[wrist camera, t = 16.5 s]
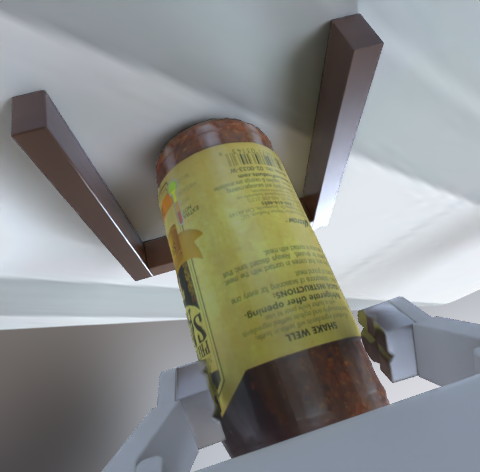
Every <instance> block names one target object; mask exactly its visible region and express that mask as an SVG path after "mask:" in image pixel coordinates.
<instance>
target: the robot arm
mask: <svg viewBox="0 0 480 472" xmlns="http://www.w3.org/2000/svg"><path fill="white" fill-rule="evenodd" d="M358 321H359V323H360V324H361V325H362V326H363V327H364V328H363V330H362V332H361V338H362V342H363V345H364V348H365V350H366V352H367V353H368V355H369V357H370V358H371V359H372V360H373V361H374V362H377V363H380V369H381V371H382V372H383V373H384V374H385V375H386V376H387V377H388V378H389V380H390V381H391V382H392V383H394V382H398V381H401V380H405V379H408V378H411V377H414V376H417V375H419V377H421V378H423V379H426V380H428V381H430V382H432V383H435V384H437V385H439V386H442V387H439V388H436V389H433V390H430V391H427V392H424V393H421V394H419V395H416V396H413V397H410V398H407V399H404V400H401V401H398V402H395V403H392V404H390V405H387V406H384V407H381V408H378V409H375V410H372V411H369V412H366V413H363V414H360V415H358V416H355V417H352V418H349V419H346V420H343V421H340V422H337V423H334V424H331V425H328V426H326V427H323V428H320V429H317V430H314V431H311V432H308V433H305V434H302V435H299V436H296V437H294V438H291V439H288V440H285V441H282V442H279V443H276V444H273V445H270V446H267V447H264V448H262V449H259V450H256V451H253V452H250V453H247V454H244V455H241V456H238V457H235V458H232V459H230V460H227V461H224V462H221V463H218V464H215V465H212V466H209V467H206V468H203V469H200V470H198V471H195V472H480V324H476V323H470V322H465V321H459V320H454V319H448V318H443V317H438V316H436V317H433V318H432V317H431V316H429V315H428V314H426V313H425V312H424V311H422V310H421V309H419V308H418V307H416V306H415V305H413V304H412V303H411V302H409V301H408V300H406V299H405V298H403V297H396V298H394V299H391V300H388V301H386V302H383V303H380V304H377V305H374V306H371V307H368V308H365V309H362V310H359V311H358ZM221 412H222V410H221V404H220V400H219V395H218V392H217V388H216V385H215V382H214V381H213V380H212V376H211V369H210V366H209V364H208V361H207V359H203V360H200V361H196V362H193V363H189V364H186V365H183V366H179V367H177V368H172V369H170V370H166V371H163V372H161V373H160V376H159V388H158V399H157V407H155V408H153V409H152V410H151V411H150V412H149V413H148V415H147V416H146V417H145V418H144V420H143V421H142V422H141V423H140V425H139V426H138V427H137V428H136V430H135V431H134V432H133V433H132V434H131V436H130V437H129V438H128V439H127V441H126V442H125V443H124V444H123V446H122V447H121V448H120V449H119V451H118V452H117V453H116V454H115V456H114V457H113V458H112V459H111V460H110V462H109V463H108V464H107V466H106V467H105V468H104V469H103V470H102V472H190V470H191V467H192V465H193V463H194V461H195V459H196V456H197V454H198V450H199V449H202V448H204V447H207V446H210V445H213V444H215V443H218V442H220V441H223V440H226V437H225V430H224V423H223V420H222V416H221Z"/></svg>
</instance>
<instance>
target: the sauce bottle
mask: <svg viewBox="0 0 480 472" xmlns="http://www.w3.org/2000/svg"><path fill="white" fill-rule="evenodd" d="M156 179H157V183H158V189H159V191H158V202H159V206H160V210H161V214H162V218H163V222H164V226H165V230H166V234H167V238H168V242H169V246H170V250H171V254H172V258H173V262H174V266H175V270H176V274H177V279H178V284H179V288H180V291H181V294H182V298H183V303H184V306H185V309H186V315H187V319H188V324H189V328H190V331H191V336H192V340H193V343H194V347H195V350H196V353H197V357H198V361H200V360H203V359H207V361H208V364H209V366H210V369H211V376H212V380H213V381H214V382H215V385H216V388H217V392H218V395H219V400H220V404H221V410H222V412H221V416H222V420H223V423H224V430H225V437H226V440H223V441H221V442H222V443H223V445H224V447H225V448H226V450H227V452H228V453H229V455H230V457H231V459H232V458H235V457H238V456H241V455H244V454H247V453H250V452H253V451H256V450H259V449H262V448H264V447H267V446H270V445H273V444H276V443H279V442H282V441H285V440H288V439H291V438H294V437H296V436H299V435H302V434H305V433H308V432H311V431H314V430H317V429H320V428H323V427H326V426H328V425H331V424H334V423H337V422H340V421H343V420H346V419H349V418H352V417H355V416H358V415H360V414H363V413H366V412H369V411H372V410H375V409H378V408H381V407H384V406H387V405H390V404H389V401H388V399H387V396H386V391H385V389H384V387H383V386H382V384H381V383H380V381H379V379H378V377H377V375H376V373H375V371H374V369H373V367H372V363H371V361H370V360H369V357H368V355H367V353H366V350H365V349H364V347H363V345H362V343H361V333H360V331H359V328H358V326H357V324H356V322H355V319H354V317H353V315H352V313H351V310H350V308H349V306H348V304H347V302H346V300H345V297H344V295H343V293H342V291H341V289H340V287H339V285H338V283H337V280H336V278H335V276H334V274H333V272H332V270H331V267H330V265H329V263H328V261H327V259H326V257H325V255H324V252H323V250H322V248H321V246H320V244H319V242H318V239H317V237H316V235H315V233H314V231H313V229H312V227H311V225H310V222H309V220H308V218H307V216H306V214H305V212H304V209H303V207H302V205H301V203H300V201H299V199H298V197H297V194H296V192H295V190H294V188H293V186H292V184H291V182H290V180H289V177H288V175H287V173H286V171H285V169H284V167H283V164H282V162H281V161H280V159H279V157H278V155H277V154H276V153H275V152H274V151H273V149H272V146H271V142H270V141H269V139H268V138H267V136H266V135H265V134H264V133H263V132H262V131H261V130H260V129H259V128H258V127H256V126H254V125H252V124H249V123H245V122H243V121H241V120H238V119H228V118H225V119H210V120H207V121H205V122H202V123H199V124H195V125H193V126H192V127H190V128H188V129H187V130H185V131H182V132H181V133H180V134H178V135H177V136H175V137H174V138H172V139H171V140H170V141H169V142H168V143H167V144H166V146H165V147H164V149H163V150H162V151H161V154H160V156H159V158H158V160H157V165H156Z"/></svg>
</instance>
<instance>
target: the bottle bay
mask: <svg viewBox="0 0 480 472" xmlns="http://www.w3.org/2000/svg"><path fill="white" fill-rule="evenodd" d="M383 44H384V43H383V41H382V40H381V39H380V38H379V36H378V35H377V34H376V33H375V31H374V30H373V29H372V28H371V26H370V25H369V24H368V23H367V22H366V20H365V19H364V18H363V17H362V15H361V14H355V15H351V16H347V17H343V18H339V19H335V20H332V22H331V28H330V34H329V40H328V46H327V52H326V58H325V64H324V70H323V76H322V82H321V88H320V94H319V100H318V106H317V112H316V118H315V125H314V131H313V137H312V143H311V149H310V155H309V161H308V167H307V173H306V179H305V185H304V191H303V197H302V198H299V201H300V203H301V205H302V207H303V209H304V212H305V214H306V216H307V218H308V220H309V222H310V225H311V227H312V229H316V228H319V227H323V226H326V225H328V222H329V219H330V215H331V212H332V209H333V206H334V202H335V199H336V196H337V193H338V189H339V186H340V183H341V180H342V177H343V173H344V170H345V167H346V164H347V160H348V157H349V154H350V151H351V148H352V144H353V141H354V138H355V135H356V131H357V128H358V125H359V122H360V118H361V115H362V112H363V109H364V106H365V102H366V99H367V96H368V93H369V89H370V86H371V83H372V80H373V76H374V73H375V70H376V67H377V64H378V60H379V57H380V54H381V51H382V47H383ZM11 136H12V138H13V139H14V140H15V141H16V142H17V144H18V145H19V146H20V147H21V148H22V149H23V151H24V152H25V153H26V154H27V155H28V156H29V158H30V159H31V160H32V161H33V162H34V163H35V165H36V166H37V167H38V168H39V169H40V170H41V172H42V173H43V174H44V175H45V176H46V177H47V179H48V180H49V181H50V182H51V183H52V184H53V186H54V187H55V188H56V189H57V190H58V191H59V193H60V194H61V195H62V196H63V197H64V198H65V200H66V201H67V202H68V203H69V204H70V205H71V207H72V208H73V209H74V210H75V211H76V212H77V214H78V215H79V216H80V217H81V218H82V219H83V221H84V222H85V223H86V224H87V225H88V226H89V228H90V229H91V230H92V231H93V232H94V233H95V235H96V236H97V237H98V238H99V239H100V240H101V242H102V243H103V244H104V245H105V246H106V247H107V249H108V250H109V251H110V252H111V253H112V254H113V256H114V257H115V258H116V259H117V260H118V261H119V263H120V264H121V265H122V266H123V267H124V268H125V270H126V271H127V272H128V273H129V274H130V275H131V277H132V278H133V279H134V280H135V281H138V280H141V279H145V278H148V277H152V276H155V275H159V274H162V273H166V272H169V271H172V270H175V266H174V262H173V258H172V254H171V250H170V246H169V242H168V238H167V236H165V237H162V238H158V239H155V240H151V241H148V242H144V244H143V242H142V241H141V239H140V238H139V236H138V234H137V233H136V231H135V230H134V228H133V227H132V225H131V224H130V222H129V220H128V219H127V217H126V216H125V214H124V213H123V211H122V210H121V208H120V206H119V205H118V203H117V202H116V200H115V199H114V197H113V196H112V194H111V192H110V191H109V189H108V188H107V186H106V185H105V183H104V182H103V180H102V178H101V177H100V175H99V174H98V172H97V171H96V169H95V168H94V166H93V164H92V163H91V161H90V160H89V158H88V157H87V155H86V154H85V152H84V150H83V149H82V147H81V146H80V144H79V143H78V141H77V139H76V138H75V136H74V135H73V133H72V132H71V130H70V129H69V127H68V125H67V124H66V122H65V121H64V119H63V118H62V116H61V115H60V113H59V111H58V110H57V108H56V107H55V105H54V104H53V102H52V101H51V99H50V97H49V96H48V94H47V93H46V91H45V90H41V91H37V92H33V93H29V94H25V95H20V96H16V97H13V98H12V120H11Z"/></svg>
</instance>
